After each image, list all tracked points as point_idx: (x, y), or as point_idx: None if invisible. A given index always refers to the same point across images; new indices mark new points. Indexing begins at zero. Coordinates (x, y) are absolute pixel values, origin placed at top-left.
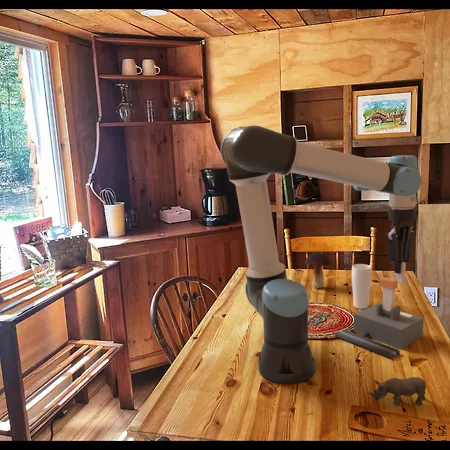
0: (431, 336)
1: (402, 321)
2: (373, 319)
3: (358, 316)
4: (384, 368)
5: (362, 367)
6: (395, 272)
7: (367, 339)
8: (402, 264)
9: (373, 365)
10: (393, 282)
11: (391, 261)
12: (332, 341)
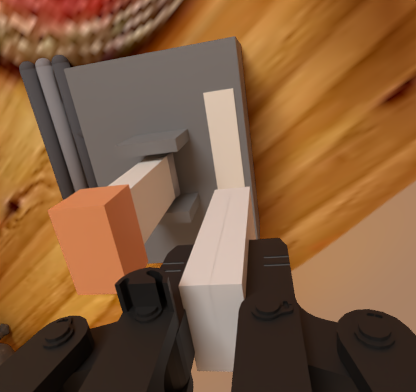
0: (284, 237)
1: (173, 231)
2: (97, 158)
3: (74, 92)
4: (48, 262)
5: (7, 232)
6: (175, 254)
7: (82, 162)
8: (198, 358)
9: (34, 241)
10: (87, 290)
11: (69, 324)
12: (4, 85)
